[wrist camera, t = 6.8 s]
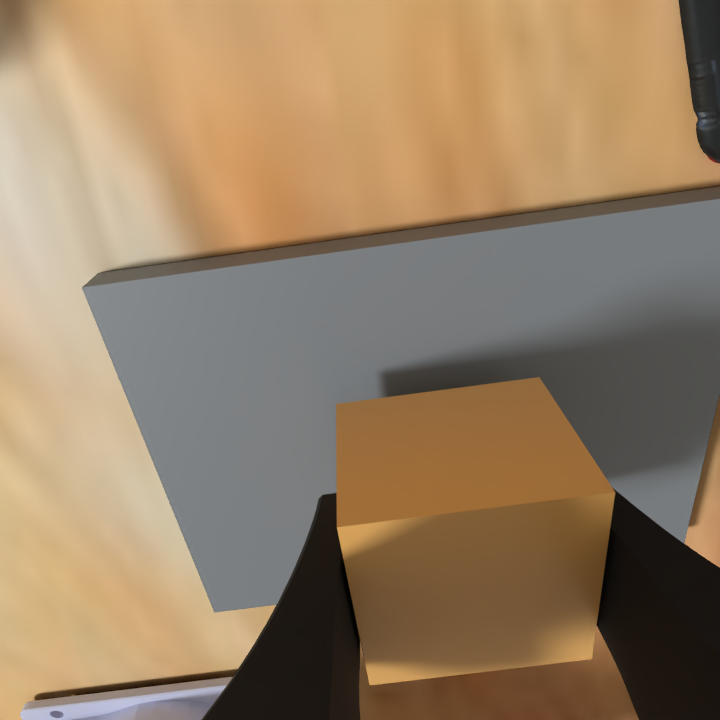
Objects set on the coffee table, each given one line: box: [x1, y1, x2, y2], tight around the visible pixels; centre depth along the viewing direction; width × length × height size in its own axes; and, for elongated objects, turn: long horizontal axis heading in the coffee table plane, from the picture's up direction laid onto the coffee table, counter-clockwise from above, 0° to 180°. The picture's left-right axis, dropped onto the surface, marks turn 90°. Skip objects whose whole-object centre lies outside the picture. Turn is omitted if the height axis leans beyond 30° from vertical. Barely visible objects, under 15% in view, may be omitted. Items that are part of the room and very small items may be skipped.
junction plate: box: [82, 186, 720, 612], centre depth 15 cm, size 16×12×4 cm
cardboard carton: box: [336, 377, 615, 685], centre depth 12 cm, size 5×5×4 cm
